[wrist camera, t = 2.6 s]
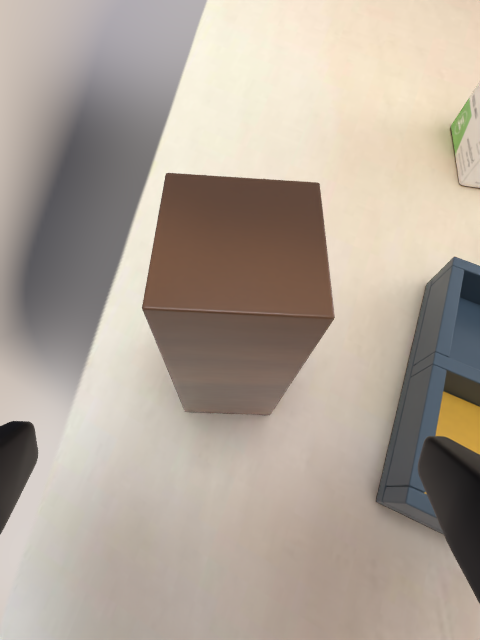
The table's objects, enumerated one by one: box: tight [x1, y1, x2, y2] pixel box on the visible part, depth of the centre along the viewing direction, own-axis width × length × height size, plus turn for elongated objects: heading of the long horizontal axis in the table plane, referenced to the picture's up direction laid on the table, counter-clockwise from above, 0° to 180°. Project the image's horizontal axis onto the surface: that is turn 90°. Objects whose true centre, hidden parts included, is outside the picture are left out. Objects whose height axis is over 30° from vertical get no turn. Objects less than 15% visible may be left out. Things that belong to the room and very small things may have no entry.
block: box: [142, 173, 335, 415], centre depth 15 cm, size 5×5×12 cm
